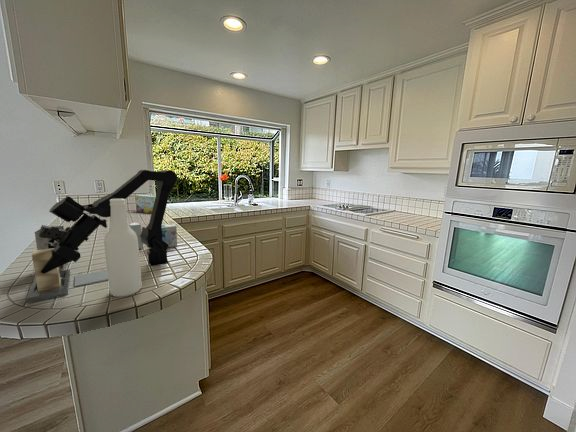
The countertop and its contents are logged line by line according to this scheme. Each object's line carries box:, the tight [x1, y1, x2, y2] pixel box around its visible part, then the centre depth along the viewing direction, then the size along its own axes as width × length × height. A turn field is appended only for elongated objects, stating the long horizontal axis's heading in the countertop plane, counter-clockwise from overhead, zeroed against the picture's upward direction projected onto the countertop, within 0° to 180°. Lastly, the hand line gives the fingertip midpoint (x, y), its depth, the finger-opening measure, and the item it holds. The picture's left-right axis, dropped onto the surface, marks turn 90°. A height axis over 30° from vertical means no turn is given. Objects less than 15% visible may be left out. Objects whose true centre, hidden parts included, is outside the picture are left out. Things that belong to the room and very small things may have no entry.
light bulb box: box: [161, 223, 178, 248], centre depth 127 cm, size 11×7×11 cm, turn 129°
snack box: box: [134, 194, 156, 214], centre depth 220 cm, size 21×6×15 cm, turn 72°
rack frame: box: [25, 268, 71, 304], centre depth 83 cm, size 9×20×2 cm, turn 39°
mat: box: [74, 269, 108, 288], centre depth 90 cm, size 10×10×1 cm
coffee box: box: [34, 225, 70, 271], centre depth 95 cm, size 9×6×16 cm
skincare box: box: [129, 222, 144, 250], centre depth 123 cm, size 6×4×12 cm
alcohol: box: [103, 199, 143, 298], centre depth 78 cm, size 9×9×30 cm
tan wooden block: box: [31, 248, 62, 292], centre depth 79 cm, size 5×5×13 cm
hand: (41, 270), depth 78 cm, fingers closed on tan wooden block, 5 cm apart
